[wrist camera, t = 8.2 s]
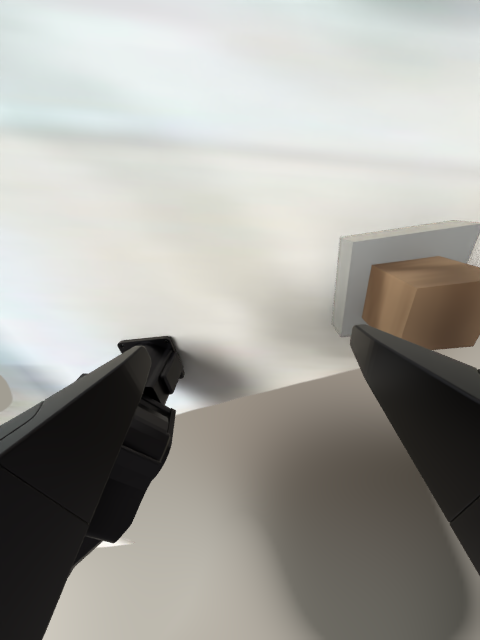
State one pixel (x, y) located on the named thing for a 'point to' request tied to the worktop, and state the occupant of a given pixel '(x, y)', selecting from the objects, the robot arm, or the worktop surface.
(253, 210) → the worktop surface
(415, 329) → the walnut cube
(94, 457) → the robot arm
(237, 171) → the worktop surface
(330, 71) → the worktop surface
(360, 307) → the base
